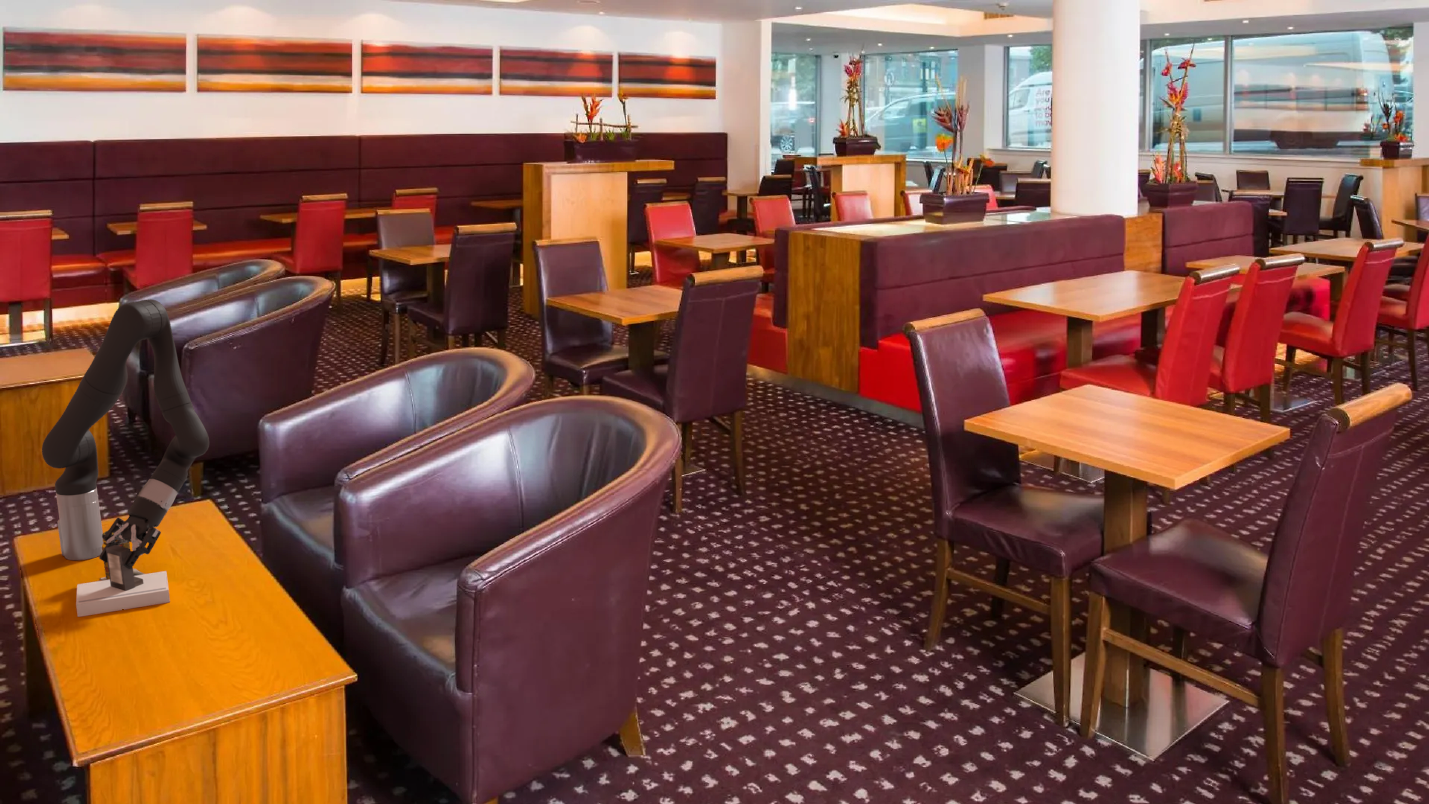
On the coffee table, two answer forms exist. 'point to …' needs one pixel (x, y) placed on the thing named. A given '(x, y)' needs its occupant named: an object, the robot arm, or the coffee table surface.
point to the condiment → (126, 545)
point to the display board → (121, 595)
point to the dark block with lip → (120, 569)
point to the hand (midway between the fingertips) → (114, 564)
